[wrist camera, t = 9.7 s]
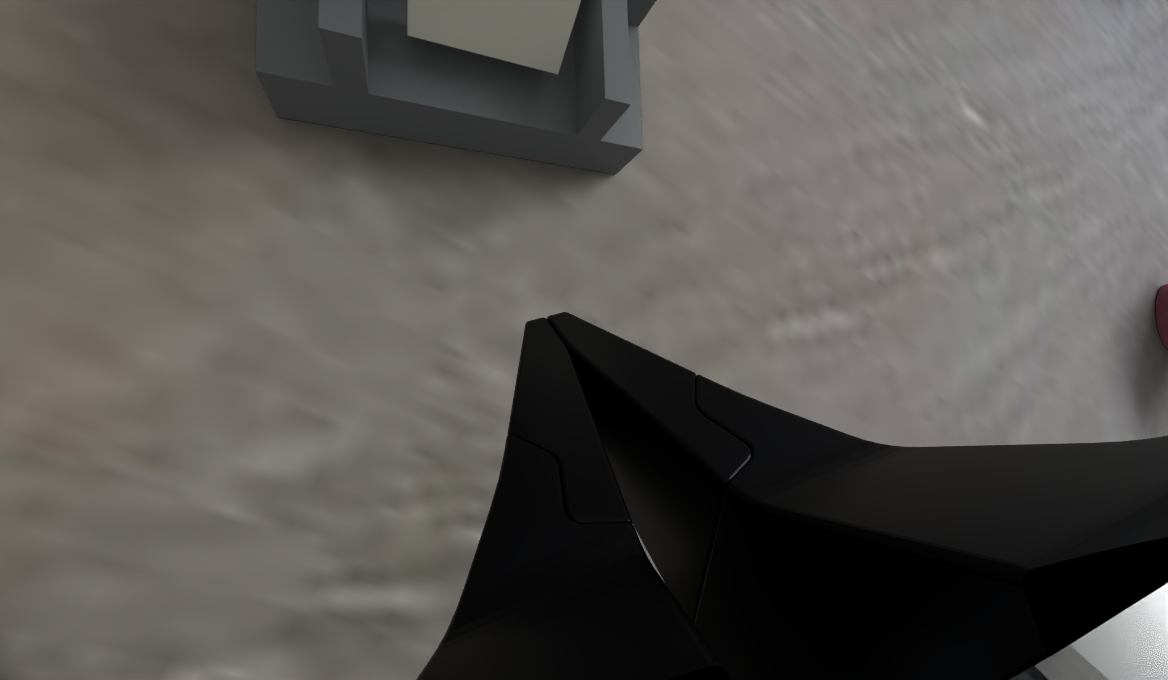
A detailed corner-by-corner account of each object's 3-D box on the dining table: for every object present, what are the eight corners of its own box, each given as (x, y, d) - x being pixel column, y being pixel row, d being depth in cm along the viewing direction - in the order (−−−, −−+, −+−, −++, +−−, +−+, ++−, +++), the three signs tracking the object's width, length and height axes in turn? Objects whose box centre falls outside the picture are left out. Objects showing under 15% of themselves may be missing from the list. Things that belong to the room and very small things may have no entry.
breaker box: (615, 174, 24) (692, 103, 18) (277, 117, 18) (208, -26, 11) (610, 40, 25) (684, -76, 18) (280, -62, 18) (214, -296, 12)
